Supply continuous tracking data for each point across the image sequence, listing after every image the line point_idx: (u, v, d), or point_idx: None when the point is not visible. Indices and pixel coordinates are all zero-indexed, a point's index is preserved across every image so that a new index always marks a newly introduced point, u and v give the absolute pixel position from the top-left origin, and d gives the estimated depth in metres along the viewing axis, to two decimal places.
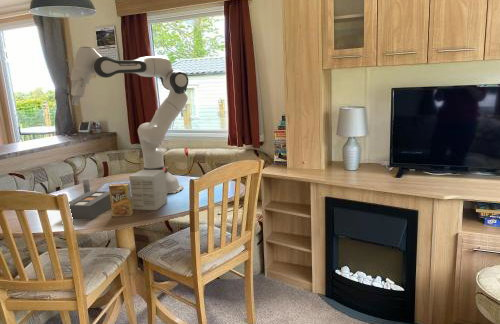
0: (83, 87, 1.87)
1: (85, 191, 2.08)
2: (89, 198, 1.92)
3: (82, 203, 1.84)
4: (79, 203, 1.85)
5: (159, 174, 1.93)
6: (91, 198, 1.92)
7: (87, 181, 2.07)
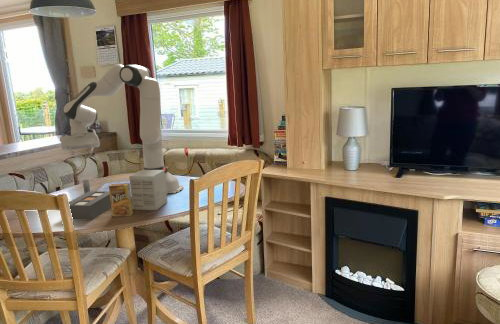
0: (61, 141, 2.16)
1: (85, 191, 2.08)
2: (89, 198, 1.92)
3: (82, 203, 1.84)
4: (79, 203, 1.85)
5: (159, 174, 1.93)
6: (91, 198, 1.92)
7: (87, 181, 2.07)
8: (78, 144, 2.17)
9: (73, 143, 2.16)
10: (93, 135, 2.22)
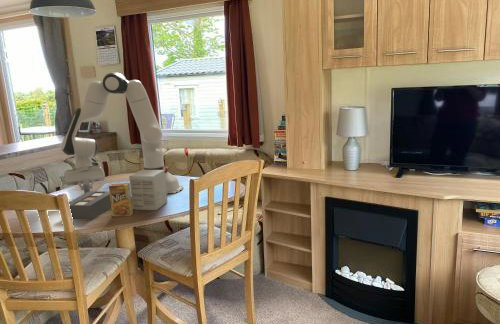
0: (65, 175, 2.09)
1: (85, 191, 2.08)
2: (89, 198, 1.92)
3: (82, 203, 1.84)
4: (79, 203, 1.85)
5: (159, 174, 1.93)
6: (91, 198, 1.92)
7: (87, 181, 2.07)
8: None
9: (78, 178, 2.09)
10: (98, 168, 2.15)
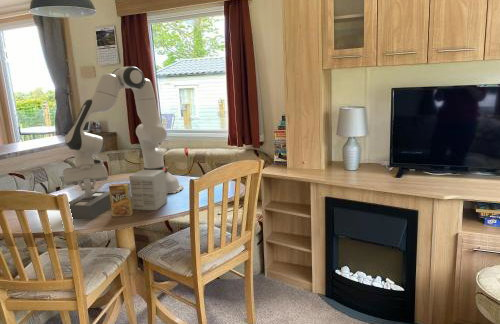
0: (64, 174, 1.89)
1: (86, 191, 1.88)
2: None
3: (82, 203, 1.84)
4: (79, 203, 1.85)
5: (159, 174, 1.93)
6: None
7: (88, 180, 1.88)
8: None
9: (78, 177, 1.89)
10: (100, 166, 1.95)
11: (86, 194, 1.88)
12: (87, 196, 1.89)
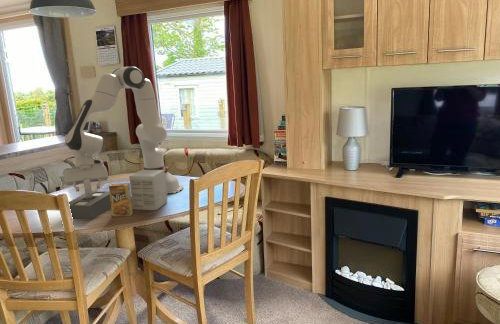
0: (64, 174, 1.89)
1: (86, 192, 1.88)
2: None
3: (82, 203, 1.84)
4: (79, 203, 1.85)
5: (159, 174, 1.93)
6: None
7: (88, 181, 1.88)
8: None
9: (78, 177, 1.89)
10: (101, 167, 1.95)
11: (86, 194, 1.88)
12: (87, 196, 1.89)
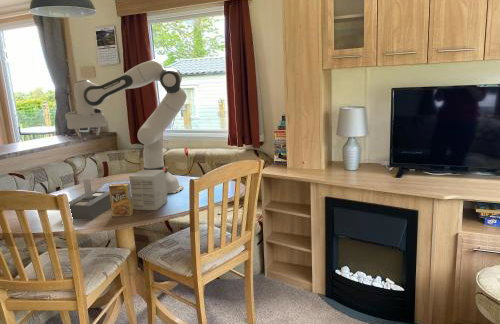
0: (67, 120, 2.06)
1: (86, 192, 1.88)
2: None
3: (82, 203, 1.84)
4: (79, 203, 1.85)
5: (159, 174, 1.93)
6: None
7: (88, 181, 1.88)
8: (85, 126, 2.10)
9: (80, 125, 2.08)
10: (100, 115, 2.11)
11: (86, 194, 1.88)
12: (87, 196, 1.89)
